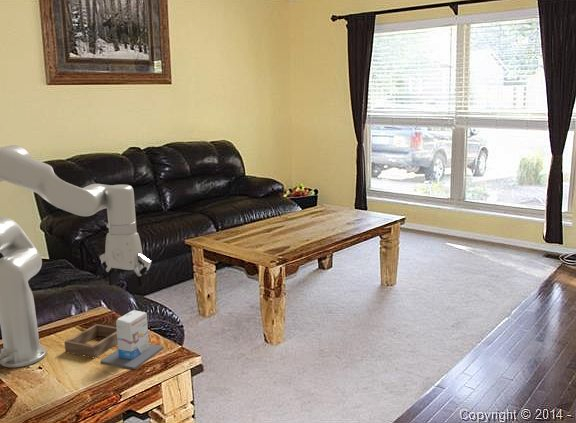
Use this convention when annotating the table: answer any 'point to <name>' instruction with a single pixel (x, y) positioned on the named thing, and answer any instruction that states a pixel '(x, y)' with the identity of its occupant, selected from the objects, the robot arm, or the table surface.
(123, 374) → the table surface
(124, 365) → the rubber mat
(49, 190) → the robot arm
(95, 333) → the frame
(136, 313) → the ink box
